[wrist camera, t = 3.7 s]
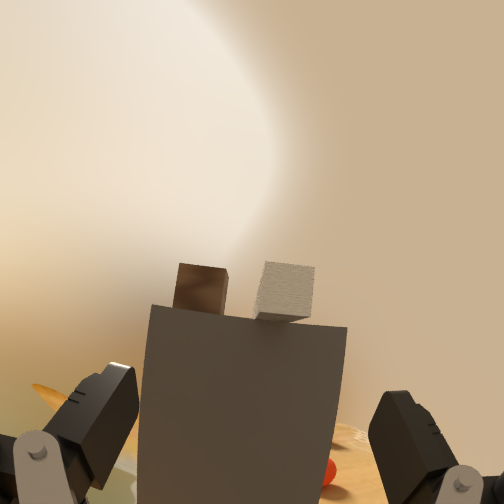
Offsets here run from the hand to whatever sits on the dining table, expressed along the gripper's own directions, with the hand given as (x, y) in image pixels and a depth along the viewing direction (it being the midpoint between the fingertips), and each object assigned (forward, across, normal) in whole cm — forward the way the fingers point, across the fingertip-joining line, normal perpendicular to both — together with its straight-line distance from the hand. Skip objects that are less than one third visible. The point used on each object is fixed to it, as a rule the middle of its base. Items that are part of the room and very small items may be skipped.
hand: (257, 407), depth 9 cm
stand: (+6, +1, +36) cm, 37 cm away
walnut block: (+23, +6, +9) cm, 25 cm away
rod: (+21, -1, +8) cm, 23 cm away
